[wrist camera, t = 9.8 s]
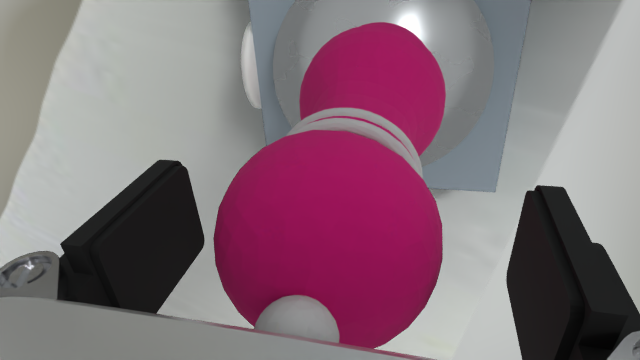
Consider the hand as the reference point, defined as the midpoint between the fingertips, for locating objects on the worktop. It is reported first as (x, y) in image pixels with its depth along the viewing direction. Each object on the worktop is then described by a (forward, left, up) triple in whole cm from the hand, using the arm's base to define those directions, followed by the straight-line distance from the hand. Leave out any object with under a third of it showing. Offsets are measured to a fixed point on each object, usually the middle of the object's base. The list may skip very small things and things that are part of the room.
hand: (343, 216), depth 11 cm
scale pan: (0, 0, -16) cm, 16 cm away
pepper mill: (0, 0, -15) cm, 15 cm away
